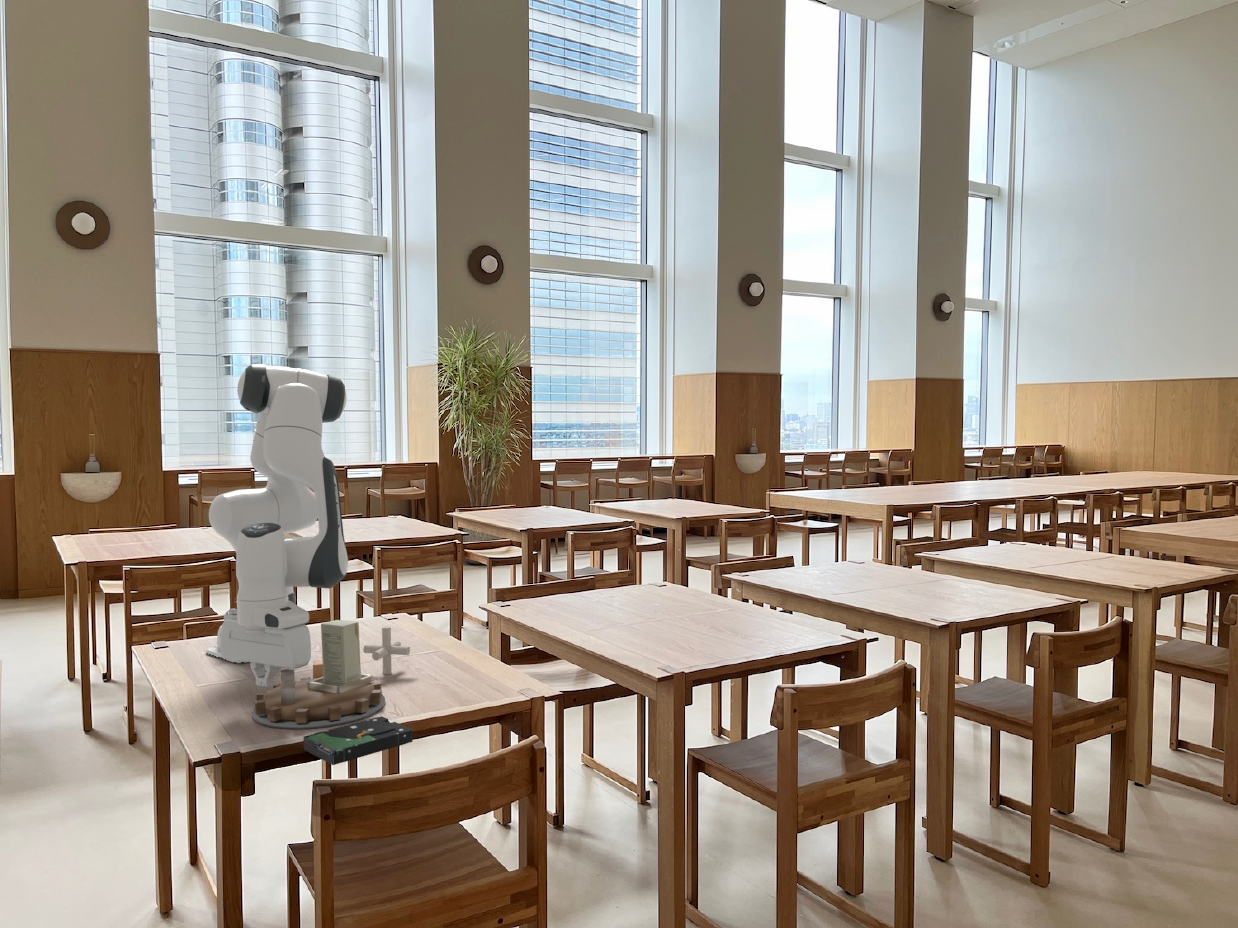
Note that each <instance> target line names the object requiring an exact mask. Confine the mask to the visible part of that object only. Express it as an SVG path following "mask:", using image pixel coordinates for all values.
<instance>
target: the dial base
mask: <svg viewBox="0 0 1238 928" xmlns="http://www.w3.org/2000/svg"><path fill="white" fill-rule="evenodd" d="M385 705H386V698H385V695H383V694H382V701H381V703H380V704H371V705H369V711H366V712H364V713H358V712H354V713H351V714H348V715H344V716H341V719H338V720H332V721H331V720H330V719H329V718H328V719H320V720H308V721H307V723H295V720H283V719H281V720H278V721H275V722H273V721H268V720H267V715H266V714H261V715H256V714H255V713H254V707H253V708H252V710H251V719H252V720H253V721H254V722H255V723H257V724H258V725H261V726H263V727H268V728H272V729H281V730H311V729H323V728H330V727H337V726H341V725H342V726H343V725H346V724H347V725H348V724H350V723H351V724H352V723H356V722H358V721H362V720H365V719H368V717H369V718H370V716H373V715H375V714H378V712H379V711H382V709H383V708H384V707H385Z"/></svg>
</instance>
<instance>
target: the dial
mask: <svg viewBox="0 0 1238 928" xmlns="http://www.w3.org/2000/svg"><path fill="white" fill-rule="evenodd" d="M279 675H280V682H279V683H276V684H274V686H273V687H272V689H270V690H268V691H259V692H258V693H256V694H255V696H256V697H255V699H256V700H254V701H253V704H254V705H253V708H254V713H255V714H256V715H261V714H266V715H267V720H268V721H273V722H275V721H278V720H281V719H283V720H295V723H307V721H308V720H320V719H328V718H329V719H330V720H331V721H332V720H338V719H341V716H344V715H348V714H351V713H354V712H358V713H364V712H366V711H369V705H371V704H380V703H381V701H382V695H383V690H382V684H381V682H379V681H374V675H373V674H366V673H362V672H361V679H358V680H355V681H353V682H350V683H347V684H344V685H341V686H334V685H328V684H324V682H323V677H321V678H316V679H313V678H311V677H309V676H308V677H301V678H300V679H299V680H298V681H296V680H295V679H296V678H295V675H296V674H295V669H290V668H285V669H281V670H280V673H279Z"/></svg>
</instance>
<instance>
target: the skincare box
mask: <svg viewBox="0 0 1238 928" xmlns="http://www.w3.org/2000/svg"><path fill="white" fill-rule="evenodd" d="M320 630H321V631H320V632H321V655H322V657H321V658H322V660H321V661H323V682H324V684H328V685H334V686H341V685H344V684H347V683H350V682H353V681H355V680H358V679H361V673H362V671H361V669H362V668H361V649H360V648H361V647H360V625H359V622H358V621H351V620H350V621H349V620H341V619H335V620H332V621H325V622H323V623H320Z"/></svg>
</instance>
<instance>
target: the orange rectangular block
mask: <svg viewBox="0 0 1238 928" xmlns="http://www.w3.org/2000/svg"><path fill="white" fill-rule="evenodd" d="M321 677H323V660H314V661H312V679H316V678H321Z"/></svg>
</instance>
